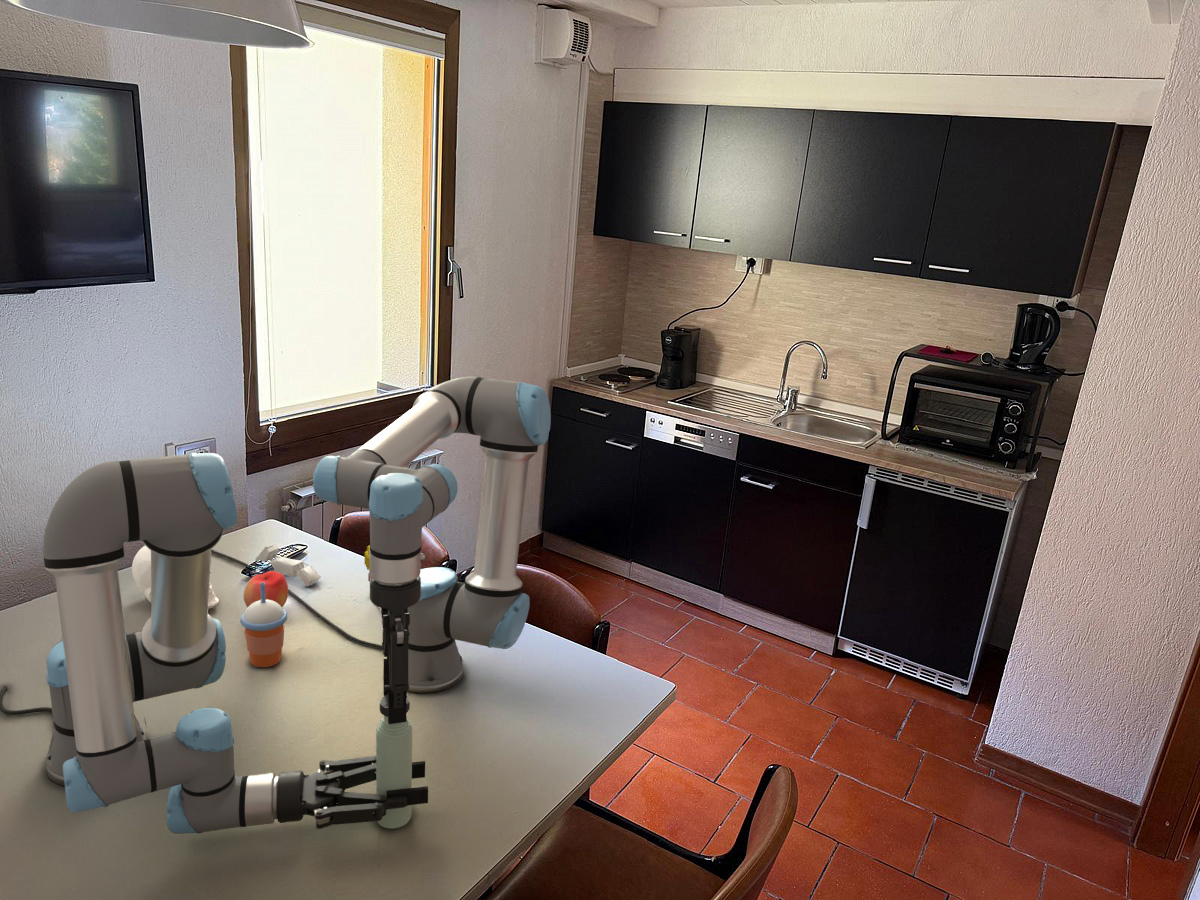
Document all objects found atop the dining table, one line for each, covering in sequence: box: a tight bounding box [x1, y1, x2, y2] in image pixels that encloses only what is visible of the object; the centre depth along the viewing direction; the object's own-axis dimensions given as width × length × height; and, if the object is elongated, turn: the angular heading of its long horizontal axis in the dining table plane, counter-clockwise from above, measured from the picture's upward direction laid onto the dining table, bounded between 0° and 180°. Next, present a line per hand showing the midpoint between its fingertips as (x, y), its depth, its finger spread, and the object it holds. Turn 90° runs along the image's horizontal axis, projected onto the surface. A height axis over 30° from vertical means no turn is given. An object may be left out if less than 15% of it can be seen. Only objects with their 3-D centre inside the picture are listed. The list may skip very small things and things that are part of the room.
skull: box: [131, 545, 220, 610], centre depth 201 cm, size 13×22×16 cm, turn 73°
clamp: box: [254, 544, 322, 587], centre depth 219 cm, size 20×4×7 cm, turn 62°
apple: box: [243, 570, 289, 608], centre depth 199 cm, size 10×10×10 cm
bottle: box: [375, 715, 414, 830], centre depth 138 cm, size 6×6×22 cm
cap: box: [379, 694, 411, 717], centre depth 135 cm, size 5×5×2 cm
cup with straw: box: [240, 583, 288, 668], centre depth 180 cm, size 9×9×18 cm
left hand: (426, 781), depth 141 cm, fingers closed on bottle, 6 cm apart
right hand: (394, 707), depth 135 cm, fingers open, 7 cm apart
